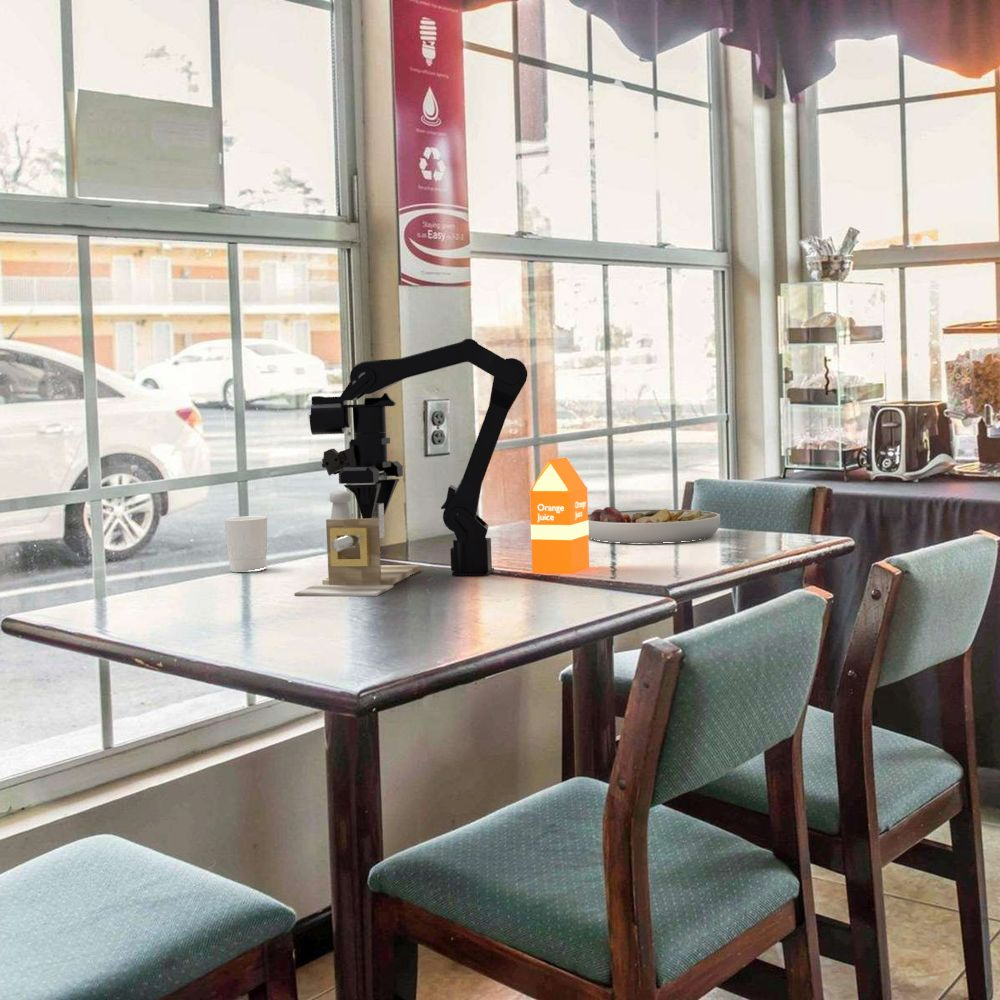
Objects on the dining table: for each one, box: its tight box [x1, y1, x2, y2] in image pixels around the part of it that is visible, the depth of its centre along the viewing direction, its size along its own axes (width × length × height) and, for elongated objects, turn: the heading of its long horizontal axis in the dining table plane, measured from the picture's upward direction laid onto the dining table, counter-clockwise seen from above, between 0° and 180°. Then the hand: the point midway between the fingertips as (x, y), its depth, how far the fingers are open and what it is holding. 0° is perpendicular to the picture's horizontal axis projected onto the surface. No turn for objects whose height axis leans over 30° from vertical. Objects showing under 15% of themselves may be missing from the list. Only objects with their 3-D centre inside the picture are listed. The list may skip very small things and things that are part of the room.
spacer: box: [330, 527, 370, 566], centre depth 216 cm, size 2×6×6 cm, turn 78°
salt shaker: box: [328, 489, 355, 548], centre depth 265 cm, size 6×6×13 cm
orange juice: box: [529, 456, 590, 575], centre depth 230 cm, size 8×9×20 cm
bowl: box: [588, 506, 721, 543], centre depth 277 cm, size 30×30×8 cm
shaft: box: [331, 503, 386, 551], centre depth 220 cm, size 21×3×6 cm, turn 168°
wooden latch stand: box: [293, 518, 421, 597], centre depth 222 cm, size 29×14×12 cm, turn 168°
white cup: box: [224, 515, 268, 574], centre depth 243 cm, size 8×8×10 cm
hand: (373, 520), depth 229 cm, fingers open, 7 cm apart
